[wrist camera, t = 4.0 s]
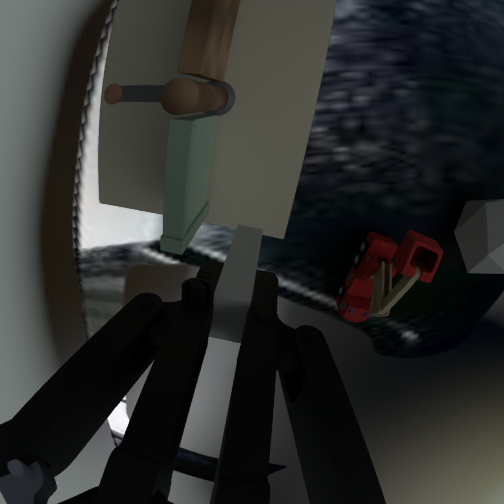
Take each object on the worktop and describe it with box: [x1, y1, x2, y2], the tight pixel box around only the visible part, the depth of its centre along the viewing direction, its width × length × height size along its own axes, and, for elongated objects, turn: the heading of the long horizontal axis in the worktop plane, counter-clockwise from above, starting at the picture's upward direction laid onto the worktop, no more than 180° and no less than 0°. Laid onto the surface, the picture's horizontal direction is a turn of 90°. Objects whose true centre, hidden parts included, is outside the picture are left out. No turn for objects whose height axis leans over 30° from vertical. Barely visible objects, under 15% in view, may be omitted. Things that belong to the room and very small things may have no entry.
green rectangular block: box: [161, 114, 218, 255], centre depth 22 cm, size 10×2×8 cm, turn 170°
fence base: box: [160, 0, 241, 115], centre depth 15 cm, size 16×2×10 cm, turn 170°
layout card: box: [98, 0, 337, 239], centre depth 22 cm, size 28×22×1 cm
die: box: [454, 199, 504, 274], centre depth 22 cm, size 8×9×10 cm
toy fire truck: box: [336, 230, 443, 322], centre depth 25 cm, size 3×14×10 cm, turn 166°
